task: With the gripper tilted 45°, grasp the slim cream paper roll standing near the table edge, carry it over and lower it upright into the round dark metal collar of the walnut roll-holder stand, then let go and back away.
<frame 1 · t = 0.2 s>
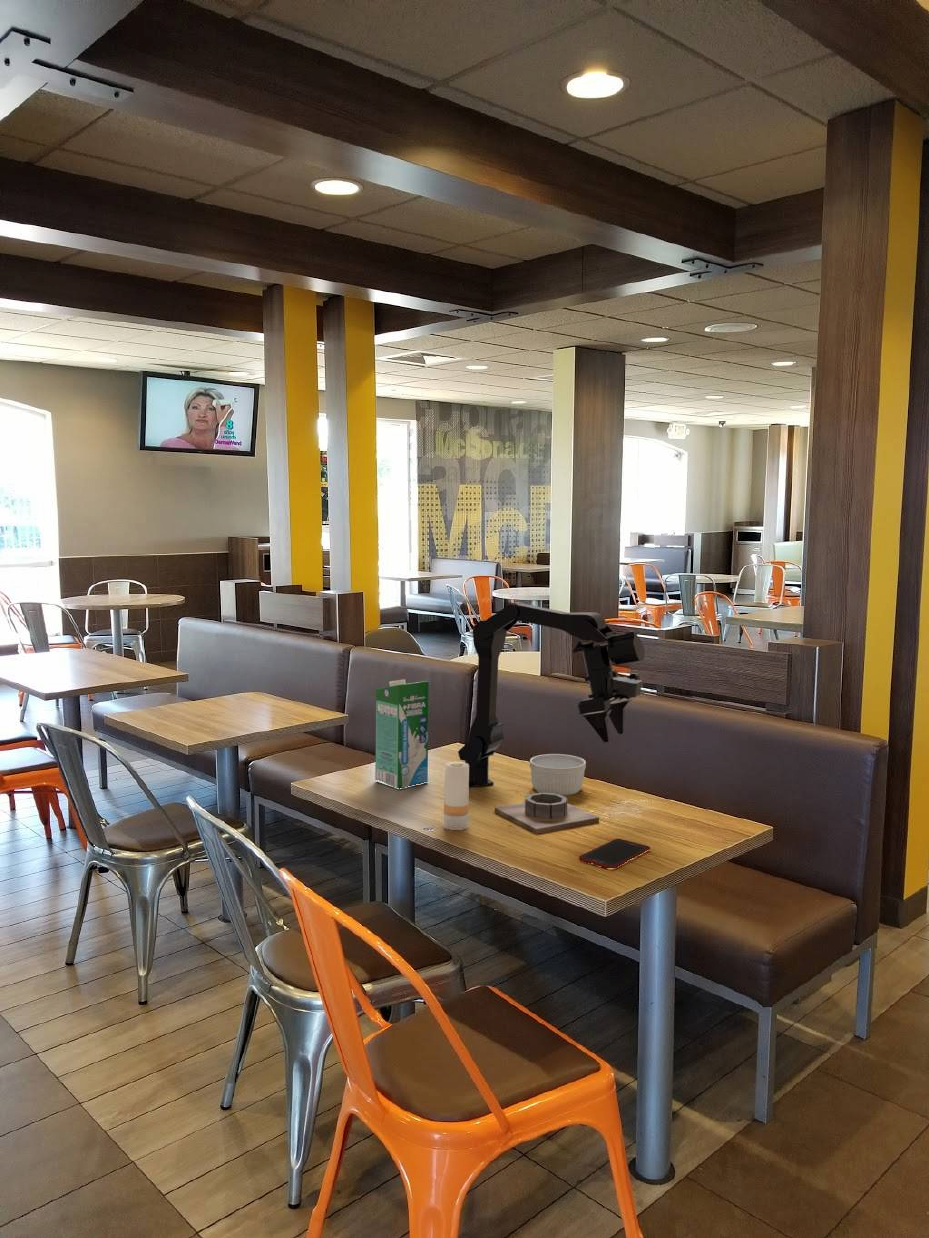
hand: (614, 737, 208), 15 cm above the table, tool pointing down, fingers open, 9 cm apart
roll holder stand: (545, 816, 201), on the table
cell phone: (614, 857, 178), on the table
paper roll: (455, 826, 193), on the table
ramekin: (556, 790, 222), on the table
milk carton: (401, 783, 225), on the table
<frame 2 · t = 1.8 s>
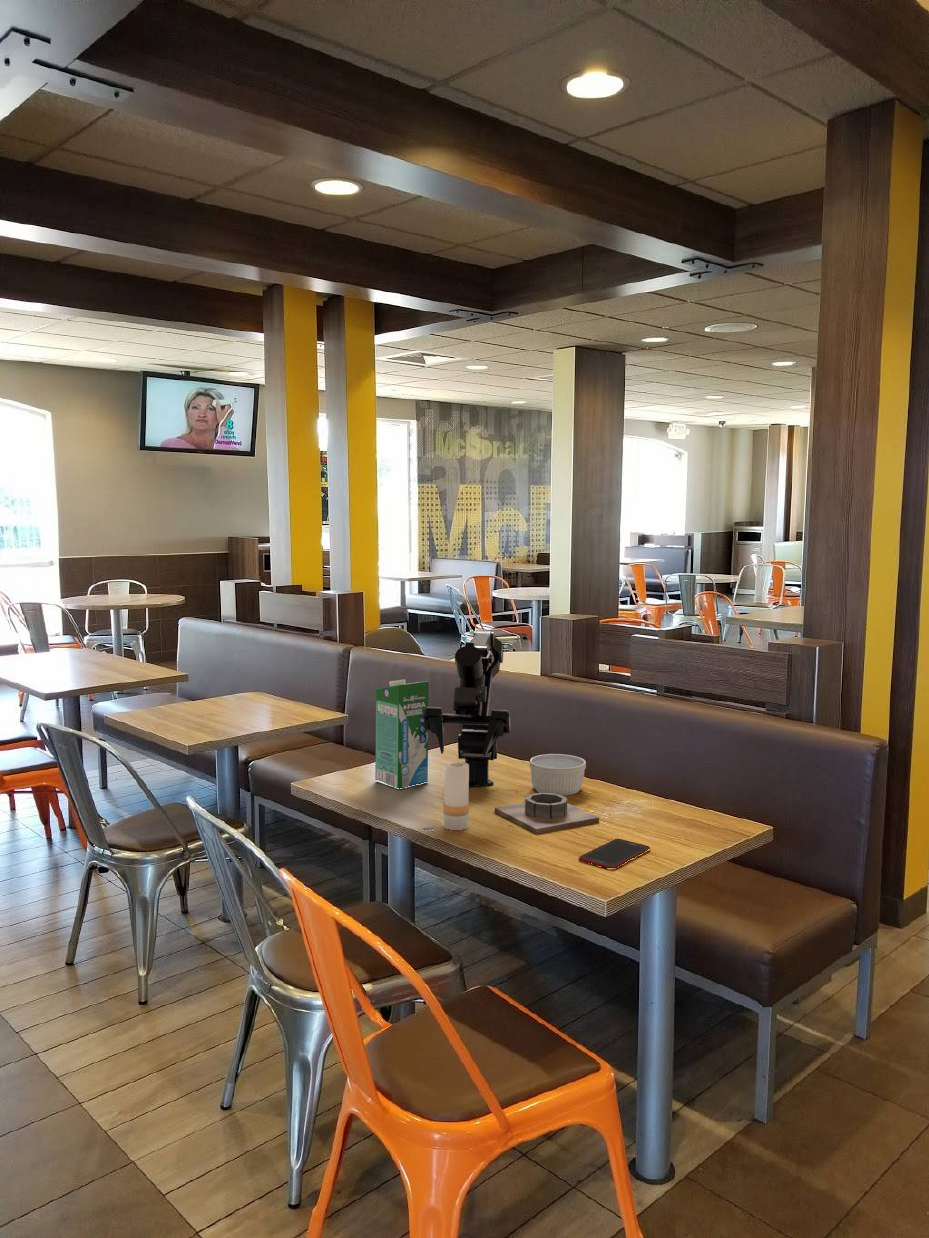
hand: (463, 753, 199), 13 cm above the table, tool tilted 45°, fingers open, 9 cm apart
nothing on the table moved.
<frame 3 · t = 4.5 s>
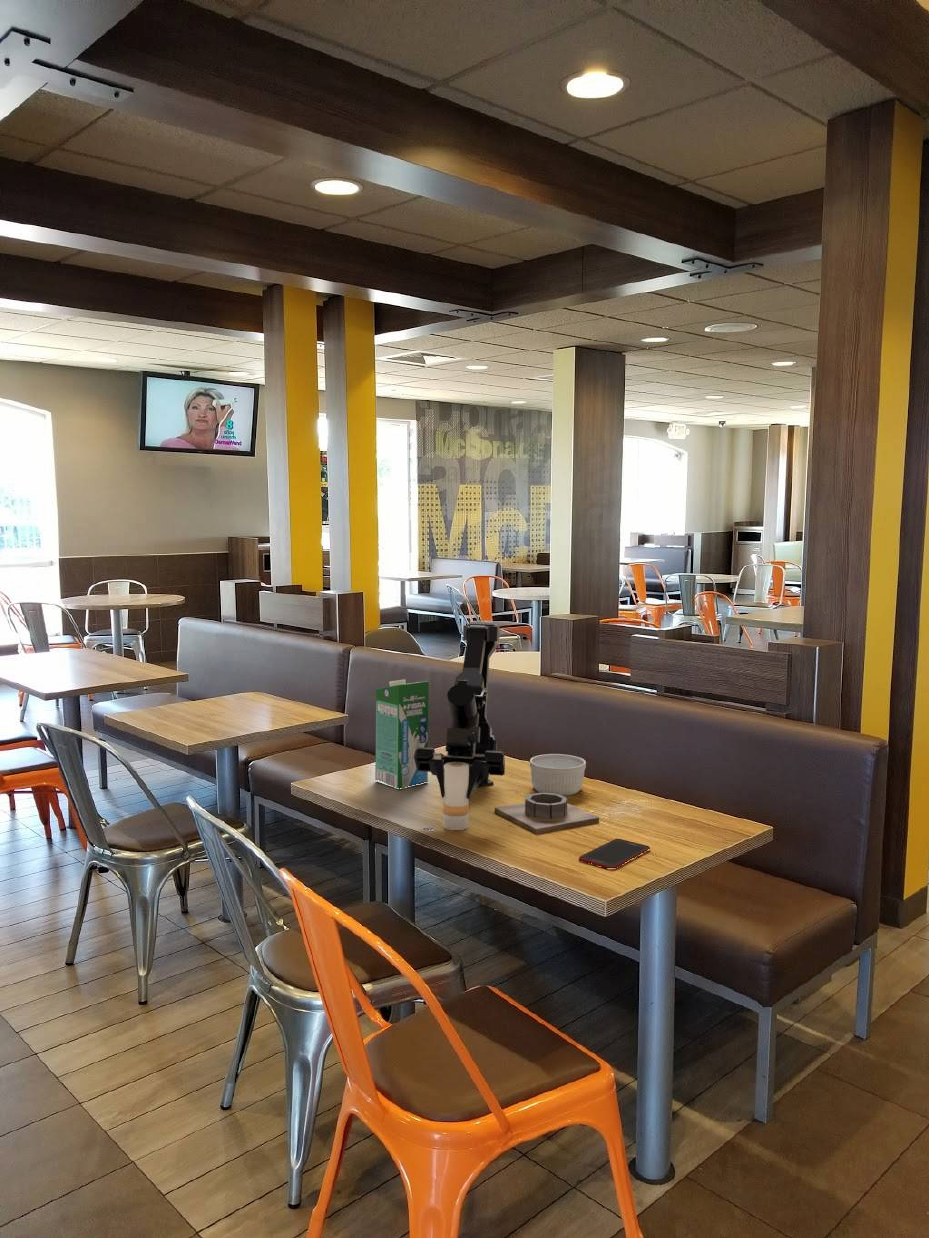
hand: (455, 797, 191), 7 cm above the table, tool tilted 45°, fingers closed on paper roll, 5 cm apart
paper roll: (455, 826, 193), on the table, touching gripper
everything else where it was.
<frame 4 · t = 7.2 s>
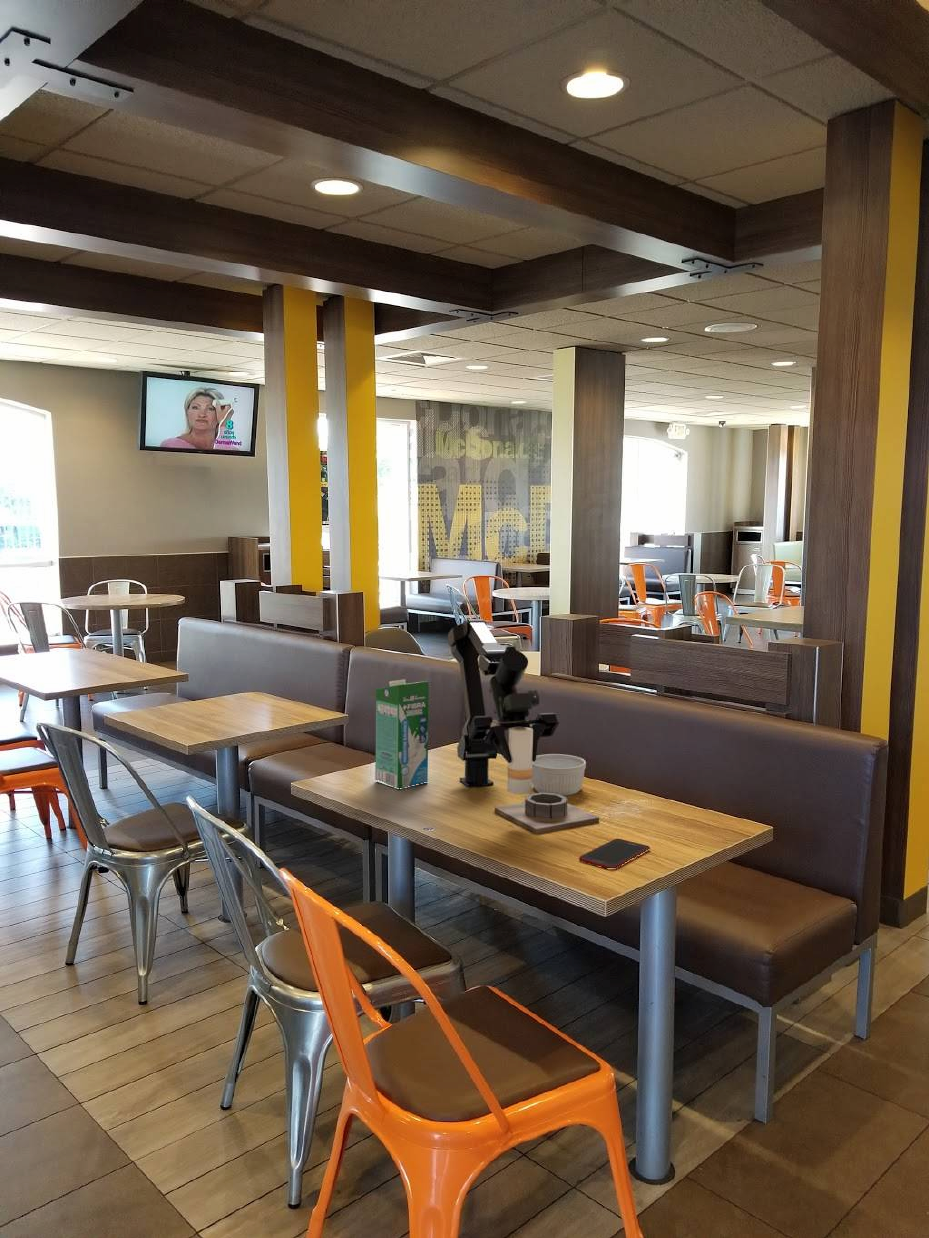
hand: (522, 761, 194), 13 cm above the table, tool tilted 45°, fingers closed on paper roll, 5 cm apart
paper roll: (519, 790, 196), point 7 cm above the table, touching gripper
everything else where it was.
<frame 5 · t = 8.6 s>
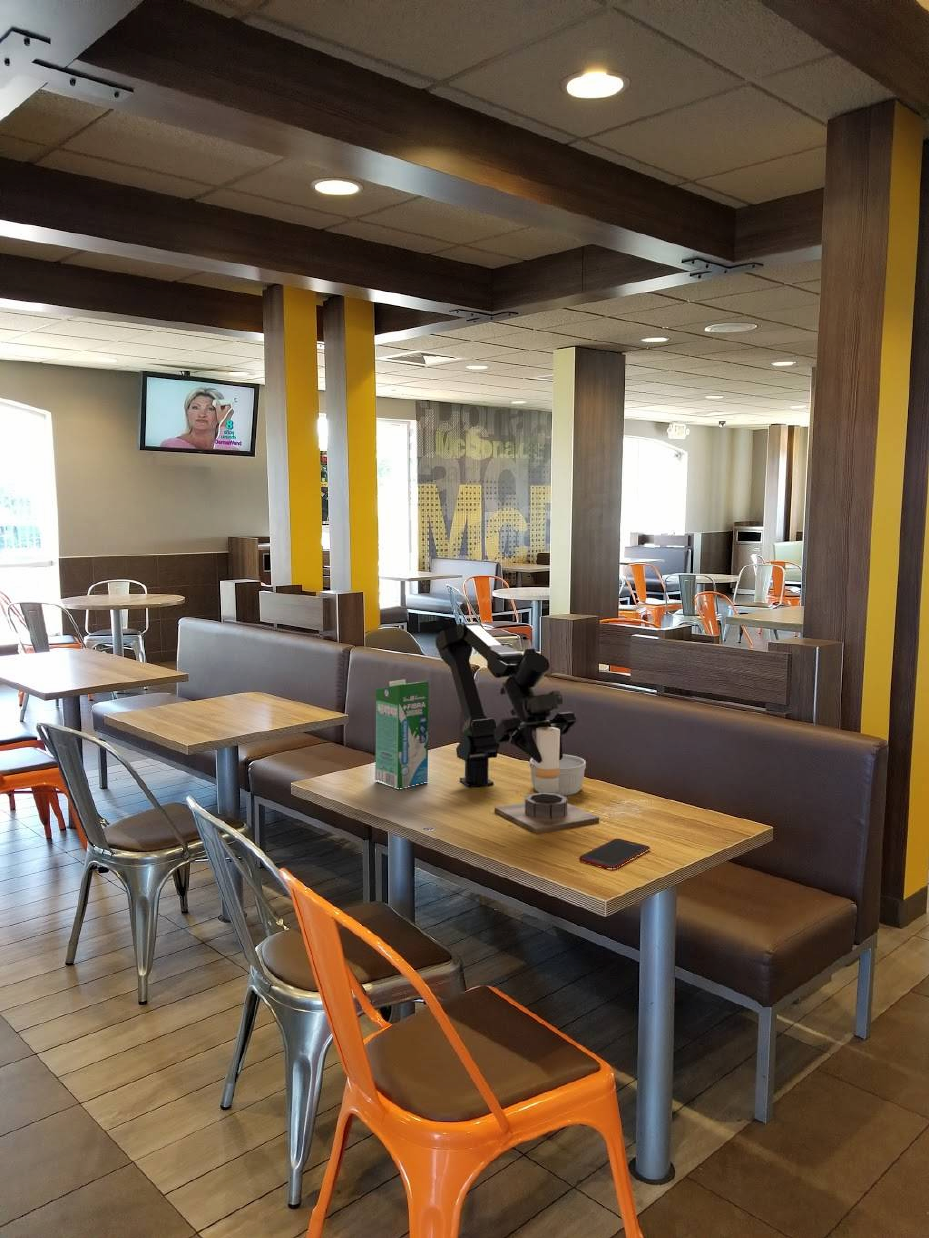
hand: (550, 760, 198), 13 cm above the table, tool tilted 45°, fingers closed on paper roll, 5 cm apart
paper roll: (546, 789, 200), point 6 cm above the table, touching gripper
everything else where it was.
when the fingers open (9 cm above the table, at t = 9.7 s): paper roll drops 1 cm, resting on roll holder stand.
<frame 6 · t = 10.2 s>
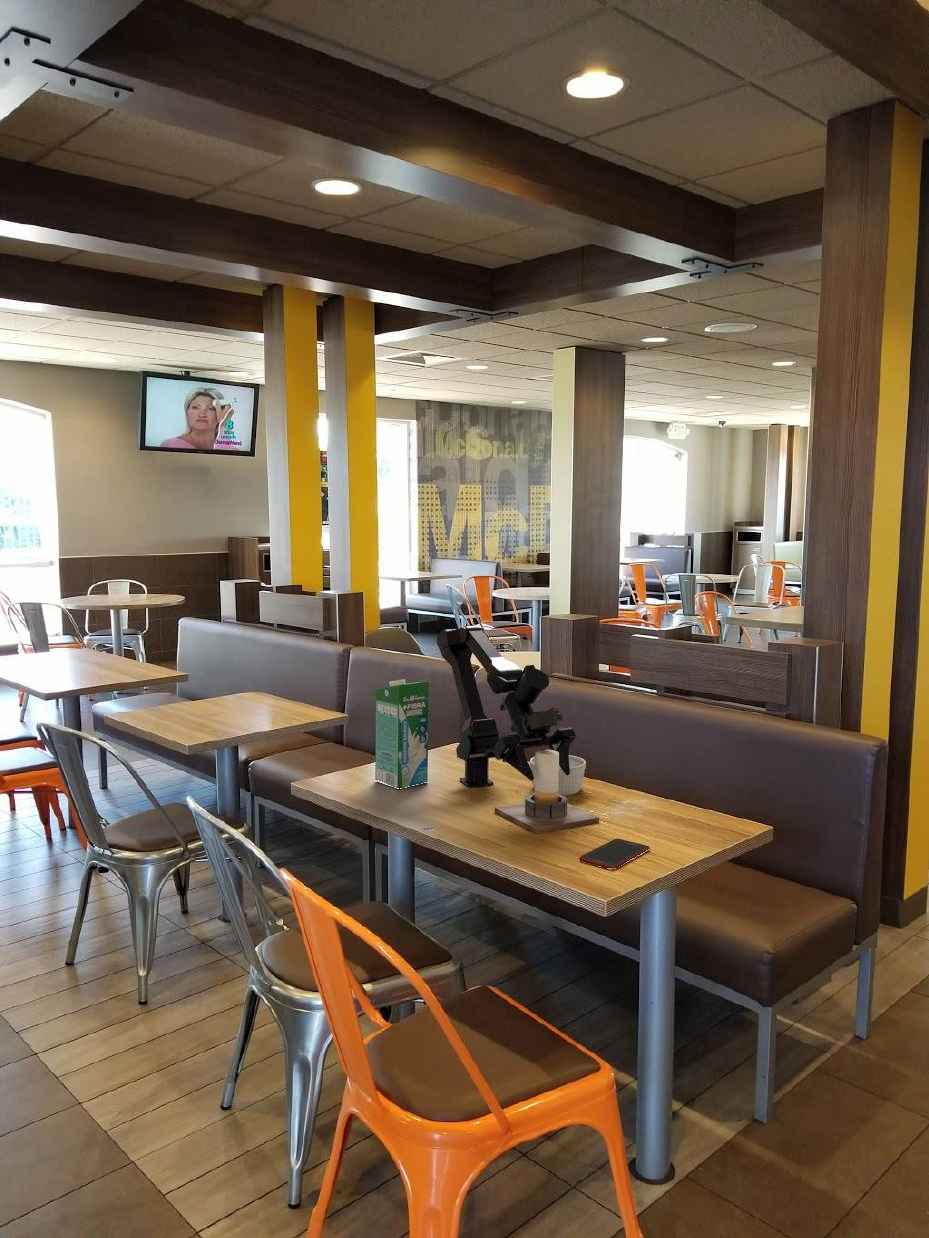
hand: (550, 777, 198), 9 cm above the table, tool tilted 45°, fingers open, 9 cm apart
paper roll: (546, 812, 200), point 1 cm above the table, touching roll holder stand
everything else where it was.
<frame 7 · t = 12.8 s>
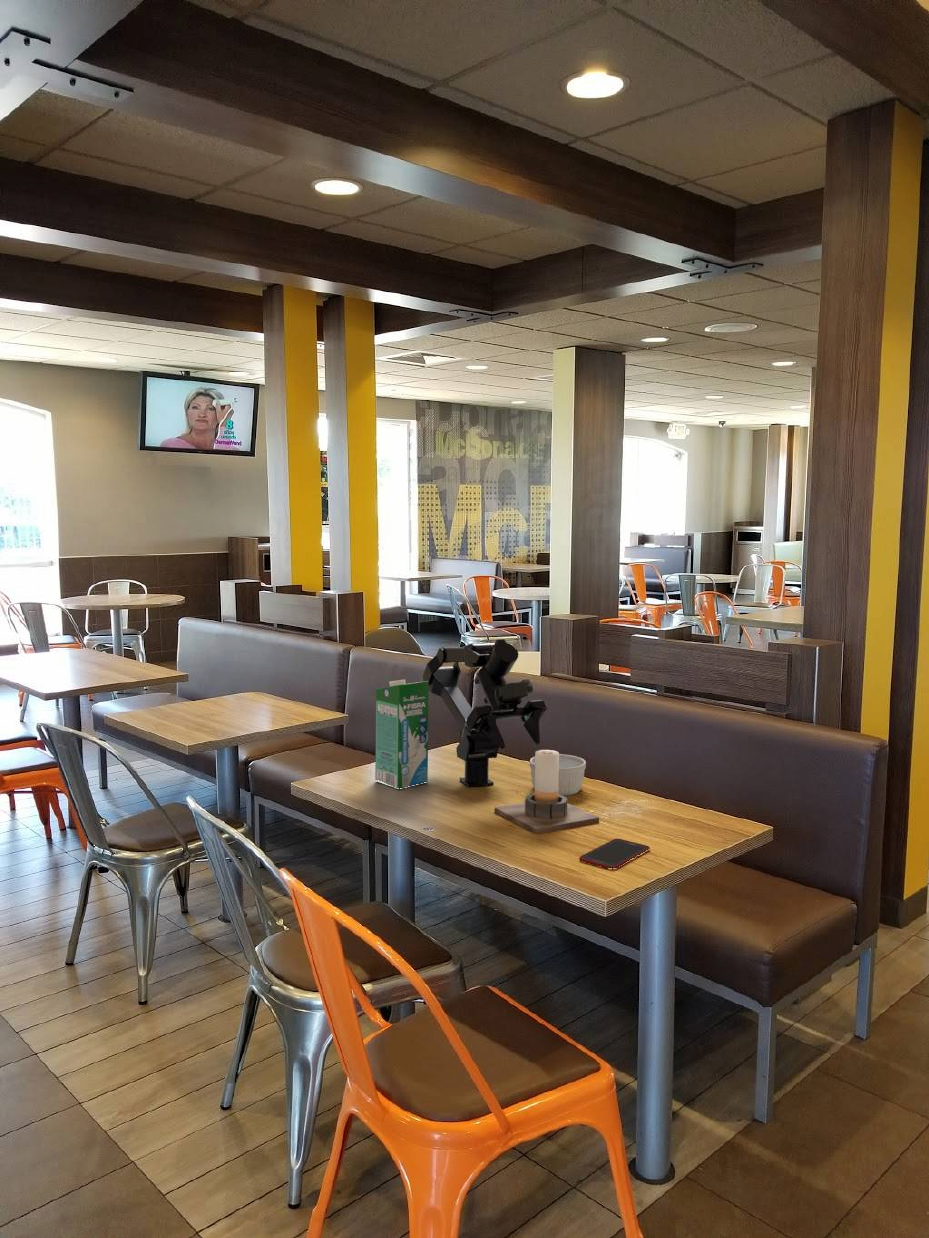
hand: (521, 745, 207), 13 cm above the table, tool tilted 45°, fingers open, 9 cm apart
nothing on the table moved.
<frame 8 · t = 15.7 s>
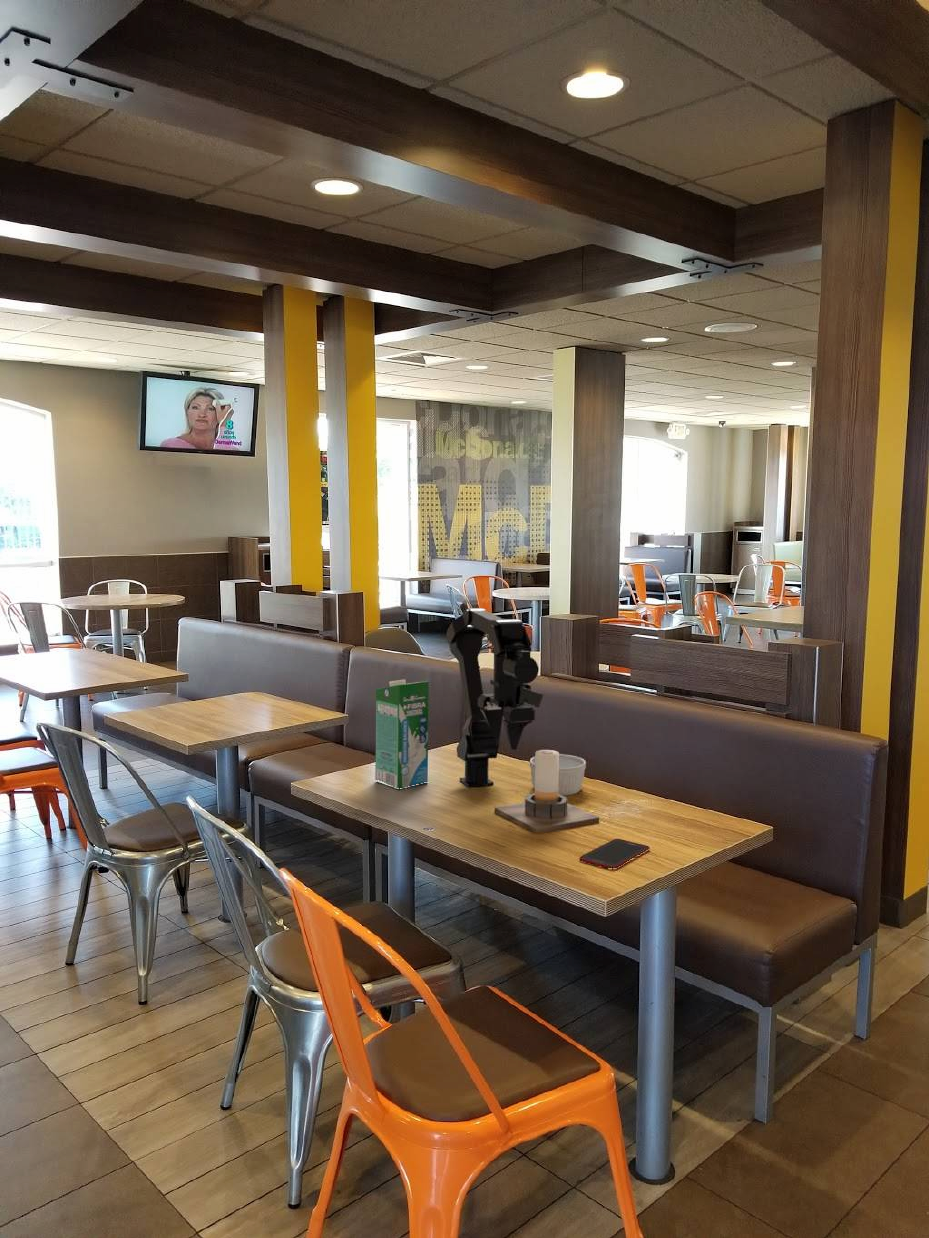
hand: (505, 744, 210), 13 cm above the table, tool pointing down, fingers open, 9 cm apart
nothing on the table moved.
at the end: paper roll 0.0 cm off-centre on the roll holder stand, point 1.0 cm above the roll holder stand's base; paper roll tilted 0°; the gripper is holding nothing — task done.
